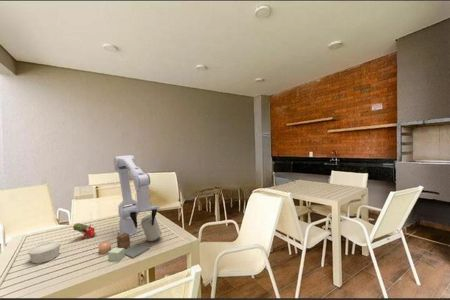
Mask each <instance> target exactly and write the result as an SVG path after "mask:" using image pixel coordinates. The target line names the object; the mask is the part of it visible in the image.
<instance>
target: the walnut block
mask: <svg viewBox="0 0 450 300" xmlns="http://www.w3.org/2000/svg"><path fill="white" fill-rule="evenodd" d="M130 241H131V239H130V236H129V234H127V233H123V234H119V235H117V236H116V243H117V248H124V250H126V249H128V248H130V247H131V242H130Z"/></svg>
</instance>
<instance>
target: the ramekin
mask: <svg viewBox="0 0 450 300" xmlns="http://www.w3.org/2000/svg"><path fill="white" fill-rule="evenodd" d="M60 247H61V242H59V241H48V242H45V243H41V244H38V245H36V246H34V247H31V248H30V249H29V250H28V253H27V254H28V255H29V257H30V261H31V262H32V263H33V264H43V263H46V262H50V261H52V260H54V259H55V258H57V257H58V255H59V253H60Z"/></svg>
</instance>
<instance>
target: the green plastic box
mask: <svg viewBox="0 0 450 300" xmlns="http://www.w3.org/2000/svg"><path fill="white" fill-rule="evenodd" d="M124 250H125V249H124V248H118V247H113V248H111V251H109V252H108V253H107V255H108V262H116V263H117V262H118V263H119V262H120V261H122V260H123V259H124V258H125V257H126V255H125V252H124Z"/></svg>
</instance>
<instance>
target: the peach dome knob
mask: <svg viewBox="0 0 450 300" xmlns="http://www.w3.org/2000/svg"><path fill="white" fill-rule="evenodd" d="M111 250H112V243H111V241H109V240H106V241H102V242H100V243H99V244H98V254H99V255H102V256H103V255H106V254H107V255H108V252H109V251H111Z"/></svg>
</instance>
